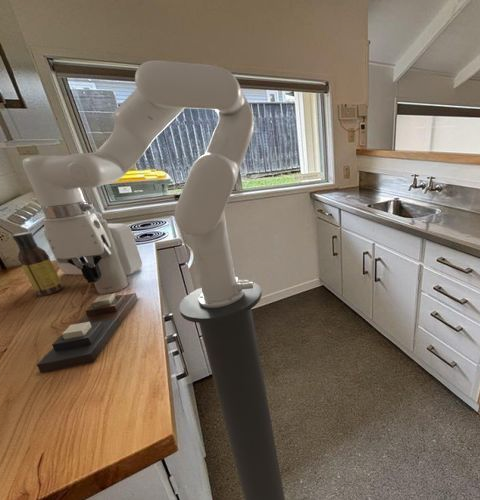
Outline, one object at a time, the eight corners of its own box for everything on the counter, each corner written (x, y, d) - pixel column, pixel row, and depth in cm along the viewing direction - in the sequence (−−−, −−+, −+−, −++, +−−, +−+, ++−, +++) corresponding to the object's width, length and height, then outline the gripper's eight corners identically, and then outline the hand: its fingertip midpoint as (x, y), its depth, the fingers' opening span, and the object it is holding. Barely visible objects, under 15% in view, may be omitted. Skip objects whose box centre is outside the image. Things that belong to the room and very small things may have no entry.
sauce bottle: (68, 285, 95) (43, 229, 88) (54, 294, 90) (26, 235, 83) (46, 288, 94) (19, 231, 87) (30, 297, 89) (0, 237, 81)
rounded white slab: (55, 277, 102) (33, 229, 96) (76, 268, 109) (57, 223, 103) (127, 278, 100) (111, 229, 93) (144, 269, 107) (129, 223, 100)
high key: (92, 327, 67) (89, 321, 66) (84, 336, 63) (81, 330, 63) (73, 331, 66) (70, 324, 65) (64, 340, 62) (61, 334, 62)
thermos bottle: (91, 295, 89) (56, 207, 79) (107, 283, 96) (76, 202, 86) (119, 292, 90) (88, 205, 80) (132, 281, 98) (105, 200, 88)
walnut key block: (137, 299, 86) (133, 287, 84) (119, 325, 73) (114, 312, 72) (102, 305, 83) (97, 293, 82) (76, 333, 71) (70, 319, 69)
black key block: (119, 325, 73) (114, 312, 72) (93, 362, 61) (86, 347, 59) (76, 333, 71) (70, 319, 69) (40, 373, 58) (32, 357, 57)
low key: (116, 299, 79) (114, 293, 78) (111, 305, 76) (108, 299, 75) (101, 301, 78) (98, 296, 77) (94, 308, 75) (92, 302, 74)
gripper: (111, 204, 72) (133, 269, 78) (37, 211, 68) (68, 279, 74) (96, 210, 65) (123, 281, 72) (14, 218, 61) (49, 292, 68)
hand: (95, 280), depth 73 cm, fingers closed
